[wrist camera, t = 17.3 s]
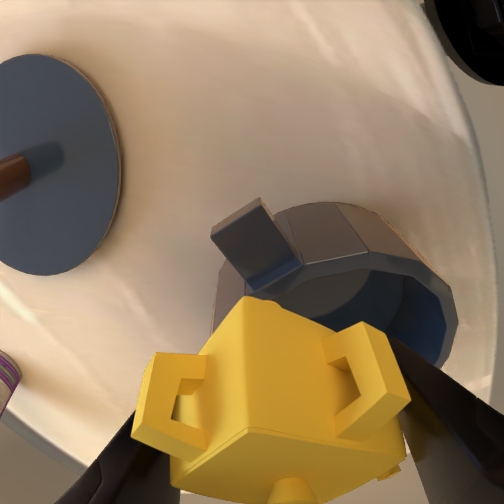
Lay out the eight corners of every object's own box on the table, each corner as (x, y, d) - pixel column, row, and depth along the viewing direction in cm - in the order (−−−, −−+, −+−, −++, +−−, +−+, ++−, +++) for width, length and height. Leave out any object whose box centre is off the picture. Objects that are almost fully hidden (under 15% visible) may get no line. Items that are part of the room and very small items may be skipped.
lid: (45, 10, 12) (-12, -4, 7) (175, 186, 17) (148, 224, 12) (-59, 162, 15) (-106, 185, 10) (39, 299, 21) (5, 346, 16)
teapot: (432, 326, 10) (499, 446, 5) (328, 419, 12) (349, 529, 7) (227, 205, 8) (201, 379, 3) (141, 352, 10) (100, 494, 5)
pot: (342, 117, 16) (394, 130, 10) (435, 332, 23) (469, 387, 17) (145, 245, 19) (109, 310, 13) (297, 403, 26) (306, 465, 21)
